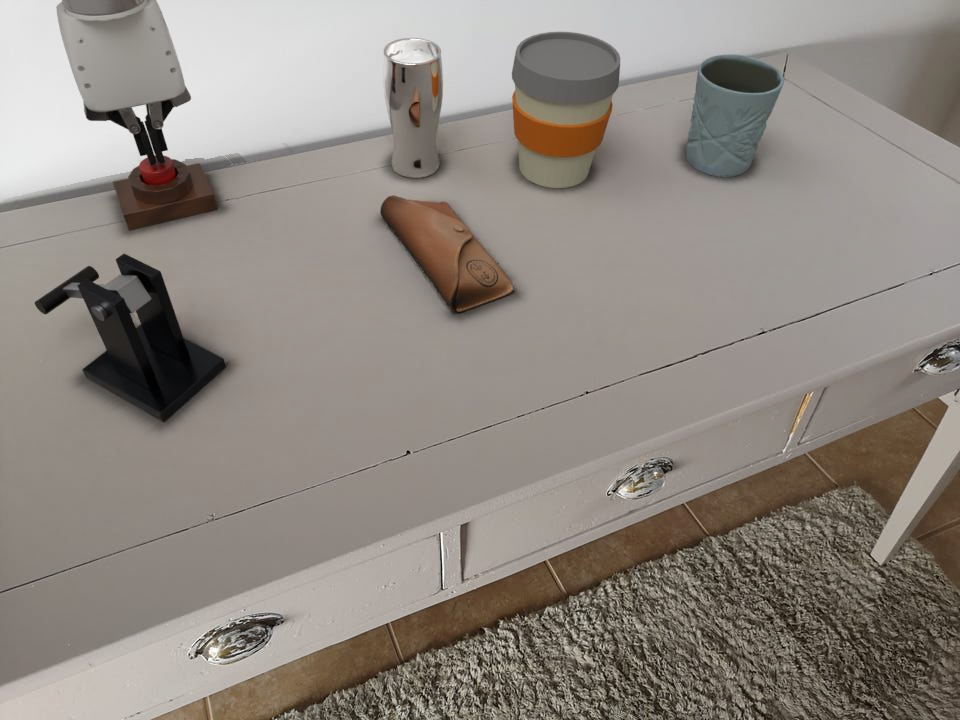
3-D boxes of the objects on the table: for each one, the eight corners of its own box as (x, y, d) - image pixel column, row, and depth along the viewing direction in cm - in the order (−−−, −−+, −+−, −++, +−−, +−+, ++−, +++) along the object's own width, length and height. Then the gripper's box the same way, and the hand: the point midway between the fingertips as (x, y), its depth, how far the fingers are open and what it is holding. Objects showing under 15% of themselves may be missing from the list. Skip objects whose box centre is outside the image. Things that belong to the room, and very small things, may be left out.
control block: (129, 230, 88) (118, 201, 85) (118, 197, 92) (107, 168, 89) (217, 209, 91) (210, 180, 88) (203, 178, 95) (196, 149, 92)
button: (146, 189, 87) (142, 175, 86) (140, 172, 89) (136, 159, 88) (179, 181, 88) (175, 168, 87) (172, 165, 91) (168, 152, 89)
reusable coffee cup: (552, 209, 94) (567, 93, 83) (485, 162, 100) (490, 48, 89) (623, 173, 99) (645, 60, 88) (555, 131, 106) (568, 21, 95)
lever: (44, 318, 71) (28, 297, 70) (96, 282, 75) (82, 261, 74) (114, 327, 64) (97, 303, 63) (168, 286, 68) (154, 263, 67)
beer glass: (453, 170, 98) (454, 55, 87) (405, 186, 96) (401, 70, 85) (424, 144, 102) (422, 31, 91) (378, 159, 99) (370, 45, 88)
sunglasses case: (521, 287, 83) (496, 255, 77) (471, 329, 83) (443, 300, 78) (443, 198, 93) (416, 164, 88) (399, 236, 94) (370, 204, 88)
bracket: (85, 377, 73) (38, 283, 64) (150, 327, 78) (114, 232, 69) (163, 422, 70) (124, 329, 61) (226, 366, 74) (198, 273, 66)
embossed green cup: (768, 177, 100) (799, 90, 91) (695, 184, 98) (720, 96, 90) (734, 135, 107) (760, 50, 98) (665, 141, 105) (686, 56, 96)
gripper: (174, -37, 78) (214, 127, 92) (12, -14, 73) (80, 155, 87) (191, -8, 74) (230, 159, 87) (20, 18, 69) (90, 191, 82)
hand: (155, 157), depth 87 cm, fingers closed
